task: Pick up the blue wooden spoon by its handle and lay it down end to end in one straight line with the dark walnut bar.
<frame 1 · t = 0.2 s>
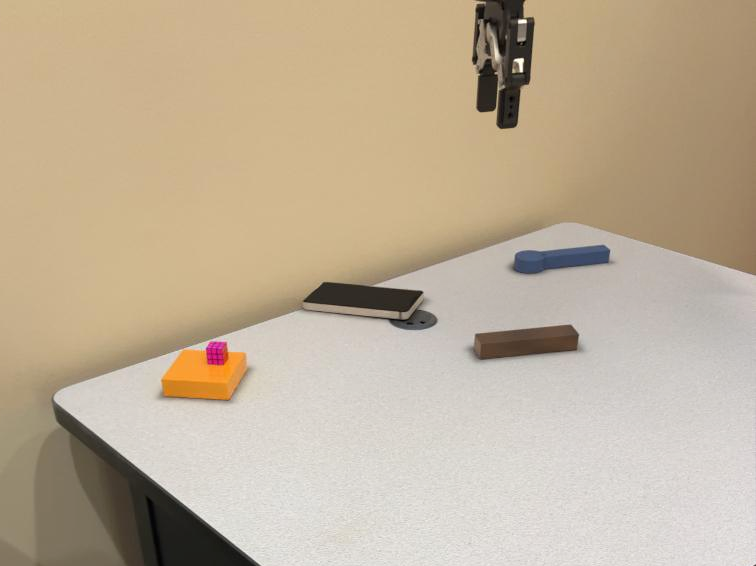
hand: (495, 119, 101), 24 cm above the table, tool pointing down, fingers open, 8 cm apart
spoon: (559, 264, 129), on the table
smartphone: (363, 305, 122), on the table
walnut bar: (524, 349, 109), on the table
orange square platform: (206, 384, 107), on the table
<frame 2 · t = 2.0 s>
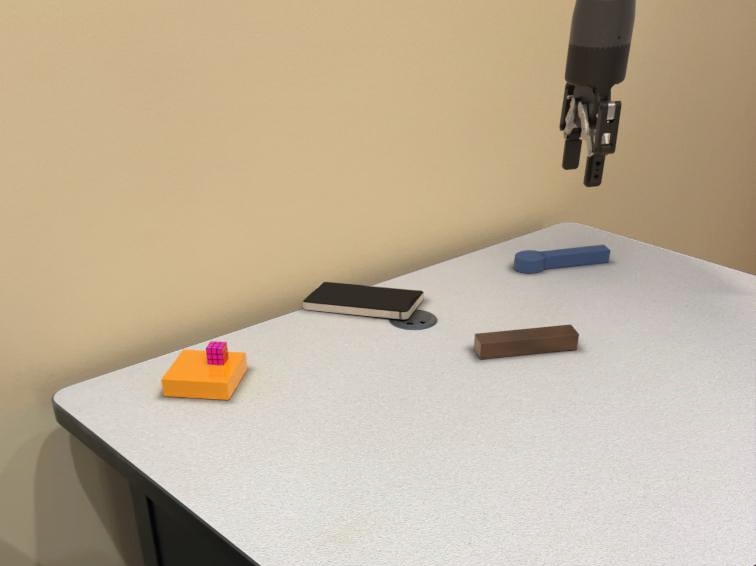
hand: (580, 177, 122), 12 cm above the table, tool pointing down, fingers open, 8 cm apart
nothing on the table moved.
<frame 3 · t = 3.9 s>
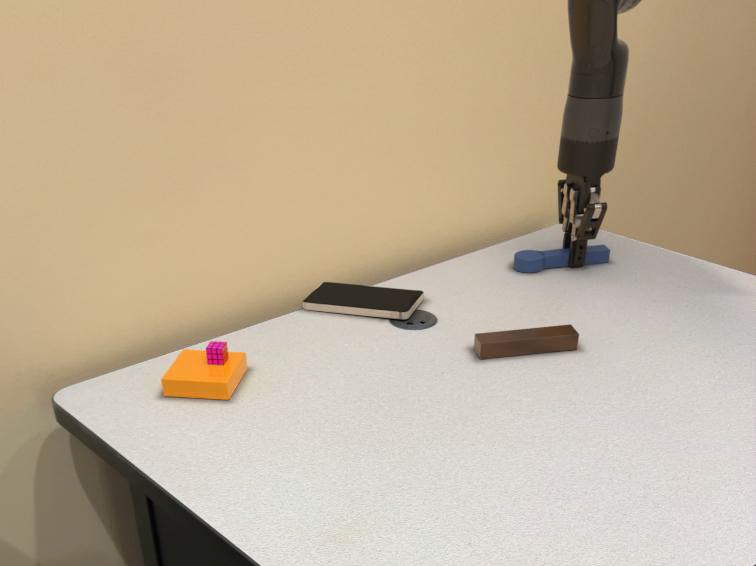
hand: (572, 262, 130), 0 cm above the table, tool pointing down, fingers closed on spoon, 2 cm apart
spoon: (558, 264, 129), on the table, touching gripper
everything else where it was.
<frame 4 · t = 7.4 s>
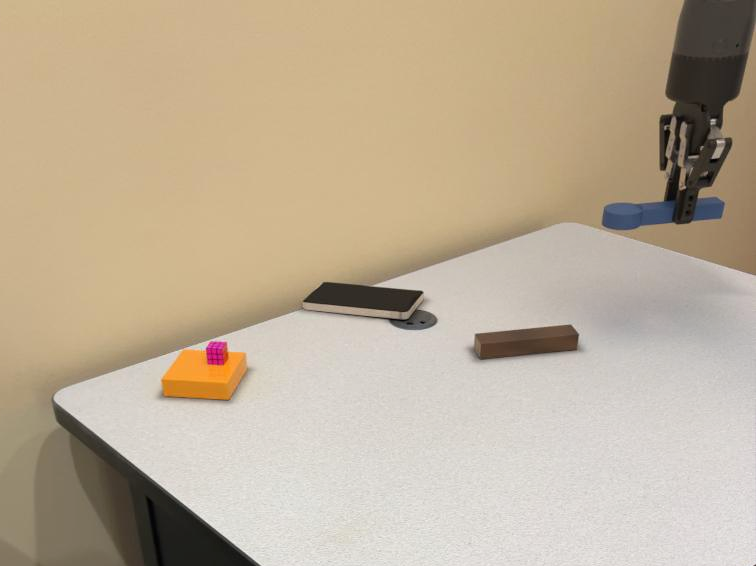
hand: (676, 218, 104), 13 cm above the table, tool pointing down, fingers closed on spoon, 2 cm apart
spoon: (658, 220, 104), point 13 cm above the table, touching gripper
everything else where it was.
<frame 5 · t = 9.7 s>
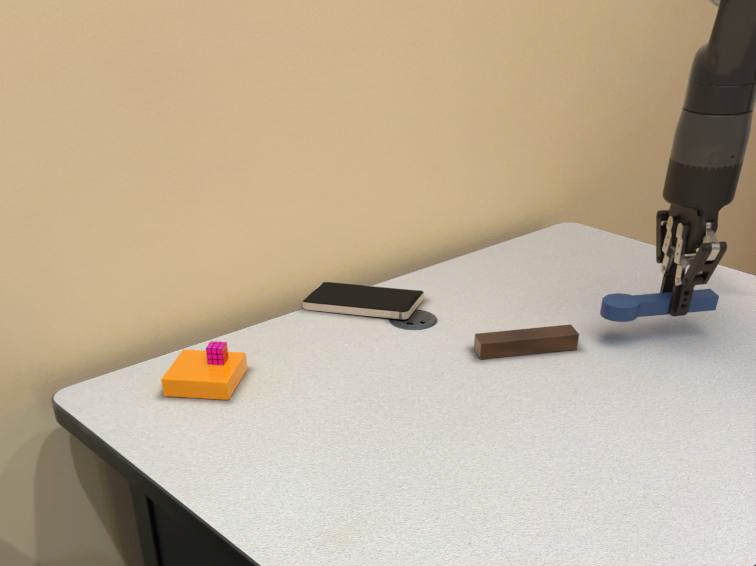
hand: (672, 309, 108), 3 cm above the table, tool pointing down, fingers closed on spoon, 2 cm apart
spoon: (655, 311, 107), point 3 cm above the table, touching gripper
everything else where it was.
when the fingers open (0 cm above the table, at t = 10.9 s): spoon stays where it is, on the table.
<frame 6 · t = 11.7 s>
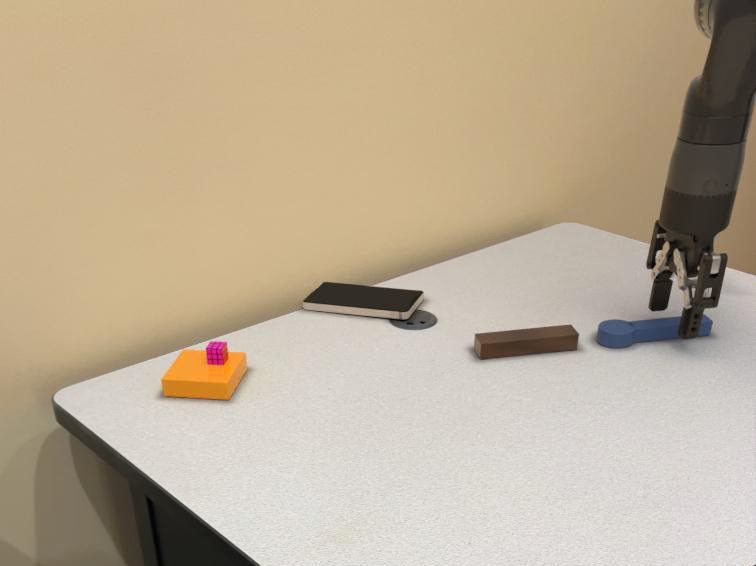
hand: (671, 323, 109), 2 cm above the table, tool pointing down, fingers open, 8 cm apart
spoon: (650, 337, 110), on the table
everything else where it was.
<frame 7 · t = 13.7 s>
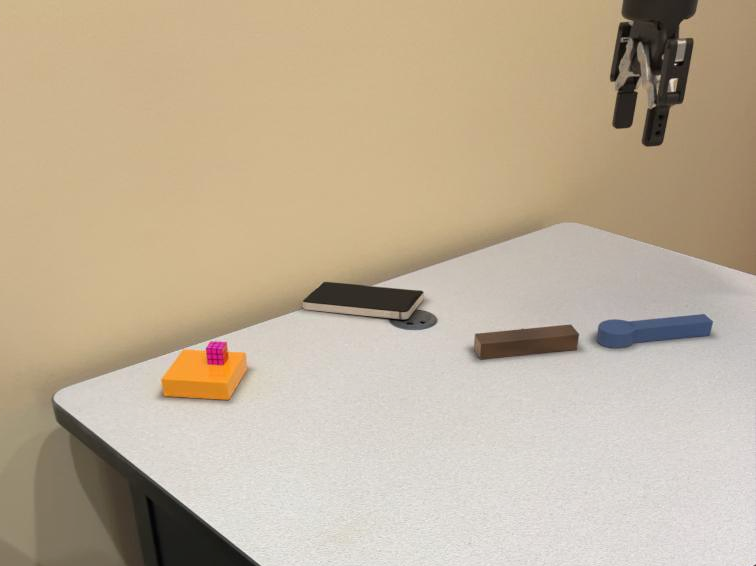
hand: (636, 136, 102), 21 cm above the table, tool pointing down, fingers open, 8 cm apart
nothing on the table moved.
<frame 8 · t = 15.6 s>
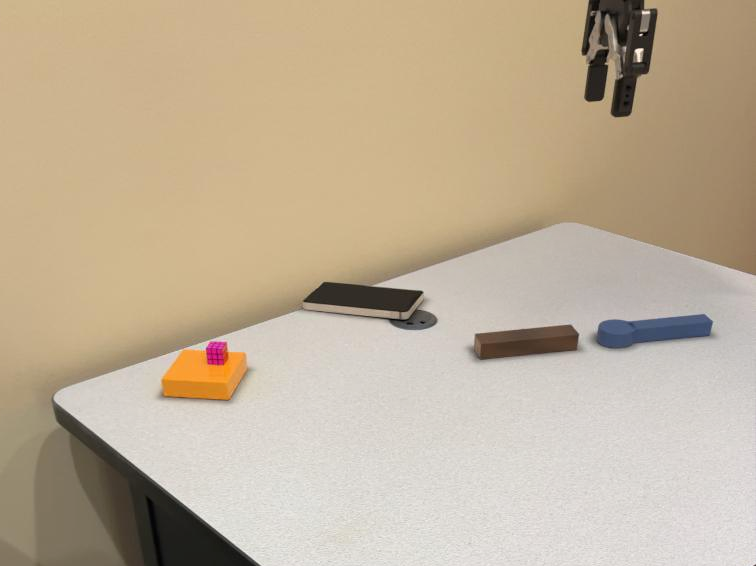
hand: (606, 108, 104), 23 cm above the table, tool pointing down, fingers open, 8 cm apart
nothing on the table moved.
at the end: spoon 0.1 cm from the target spot on the table beside the walnut bar, on the table; spoon tilted 0°; spoon moved 26.6 cm from its start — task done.
